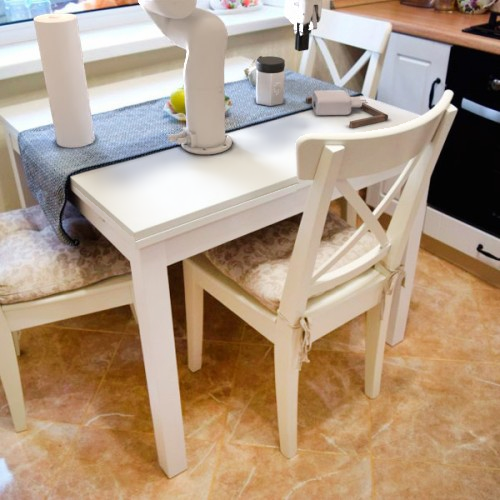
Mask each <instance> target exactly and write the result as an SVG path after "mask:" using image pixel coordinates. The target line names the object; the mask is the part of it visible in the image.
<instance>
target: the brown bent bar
mask: <svg viewBox="0 0 500 500" xmlns="http://www.w3.org/2000/svg"><path fill="white" fill-rule="evenodd" d="M349 96H350V97H352V96H351V95H349ZM305 103H306V104H312V96H306V97H305ZM357 109H360V110H362V111H364V112H365V113H368V114H369V115H372V116H368V117H364V118H359V119H354V120H349V128H351V129H354V128H358V127H363V126H367V125H372V124H378V123H381V122H382V123H383V122H386V121H388V120H389V119H388V118H389V114H387V113H385V112H383V111H381V110H379V109H377V108H375V107H373V106H371V105H368V103H362V106H361V107H357Z"/></svg>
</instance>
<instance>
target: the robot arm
mask: <svg viewBox="0 0 500 500" xmlns="http://www.w3.org/2000/svg"><path fill="white" fill-rule="evenodd" d="M137 1H138V3H139V5H140V6H141V8H142V9H143V11H144V12H145V13H146V15H147V16H148V17H149V18H150V19H151V21H152V22H153V23H154V24H155V26H156V27H157V28H158V30H159V31H160V32H161V33H162V34H163V36H165V37H166V39H167V40H168V41H169V42H170V43H172V44H174V45H175V46H177V47H179V48H181V49H183V50H185V51H186V57H185V61H184V66H183V84H184V85H183V89H184V91H183V92H184V107H185V126H182V131H179V132H178V133H171V134H168V135H167V140H168V142H169V143H170V144H172V143H177V145H180V146H181V148H182V149H183V150H185V151H186V152H188V153H191V154H196V155H215V154H220V153H223V152H225V151H227V150H228V149H230V148H231V146H232V143H233V142H232V138H231V136H230V135H229V134H226V95H225V94H226V93H225V92H226V90H225V88H226V87H225V63H226V62H225V61H226V53H227V48H228V40H229V36H228V33H229V32H228V29H227V26H226V24H225V22H224V21H223V20H222V19H221V18H220V17H219V16H218V15H216V14H215V13H213V12H211V11H209V10H205V9H203V8H199V7H197V3H198V0H137ZM322 7H323V0H285V4H284V16H285V18H286V19H288V20H289V21H290V23H291V24H293V31H294V34H295V35H294V37H295V38H294V50H295V51H298V52H303V51H308V50H309V48H310V35H311V34H312V31H314V30H317V29H318V23H320V21H321V18H322Z"/></svg>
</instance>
